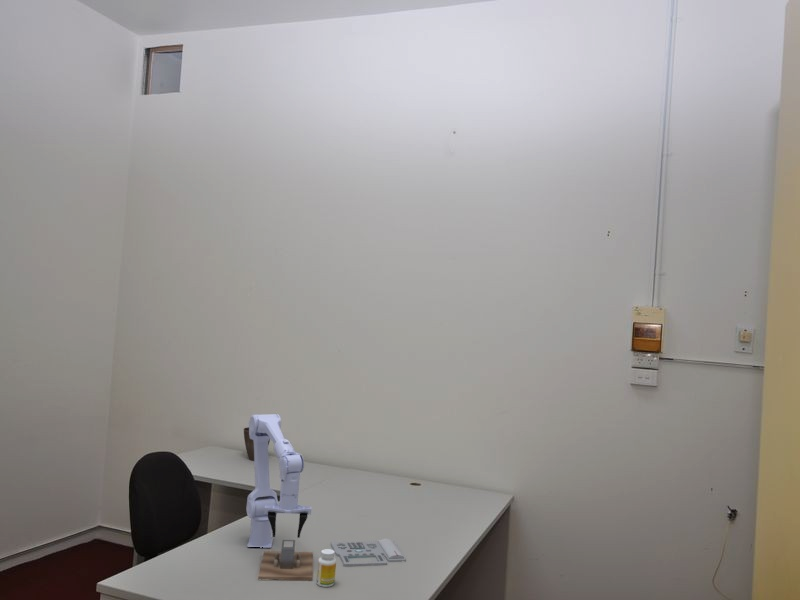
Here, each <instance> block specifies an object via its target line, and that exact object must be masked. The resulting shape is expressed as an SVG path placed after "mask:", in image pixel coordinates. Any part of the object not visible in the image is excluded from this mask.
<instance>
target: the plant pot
mask: <svg viewBox="0 0 800 600" xmlns="http://www.w3.org/2000/svg"><path fill="white" fill-rule="evenodd" d="M243 437H244V439H243V440H244V445H245V450H246V454H247V457H248V460H249V461H253V462H254V441H253V440H252V439H250V435H249V426H248V427H243ZM270 441H271V439H270V440H269V441H268V446H270Z"/></svg>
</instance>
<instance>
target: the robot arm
mask: <svg viewBox="0 0 800 600" xmlns="http://www.w3.org/2000/svg"><path fill="white" fill-rule="evenodd" d="M248 427H249V435H250V439H252V440H253V441H254V461H253V462H254V463H253V464H254V482H255V483H254V485H255V487H254V489H253V490H252V491H251V492H250V493H249V494H248V495H247V500H246V509H245V510H246V514H247V517H248V518H249V519H250V530H249V537H248V538H249V539H248V542H247V545H246V547H247V548H248V547H260V548H261V549H271V548H272V545H273V541H274V538H276V532H277V531H276V525H277V524H276V522H277V514H292V515H293V514H295V515H297V514H299V520H298V521H299V522H298V527H297V535H296V536H297V539H298V538H300V537H301V533H302V530H303V527H304V525H305V524H306V521H307V519H308V515H309V516H311V515H312V506H305V505H299V490H300V476H301V473H303V471H304V468H305V459H304V457H303V454H302V453H299V452H296V451H295V449H294V446H293V445H292V443H291V442H290V440H288V439H286V438H285V437H284V435H283V434H284V433H283V432H282V430H281V428H282V417H281V416H280V415H279V414H278V413H274V414H272V413H271V414H269V413H268V414H251V416H250V418H249V421H248ZM269 440H270V441H272V443H273V444H274V446H273V452H274V454H275V455H276V458H277V459H278V461H279V462H278V467H279V478H280V493H279V500H278V493H277V492H276V491H274V490H273V489H272V488H271V485H270V461H269V458H270V457H269V445H268V441H269ZM263 497H264V498H263ZM248 545H249V546H248ZM262 547H263V548H262ZM260 548H259V549H260Z"/></svg>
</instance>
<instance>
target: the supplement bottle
mask: <svg viewBox="0 0 800 600" xmlns="http://www.w3.org/2000/svg"><path fill="white" fill-rule="evenodd" d="M320 551H321V552H320V557H319V558H318V560H317V572H316V584H317V585H318V586H319V587H323V588H331V587H332V586H334V585H335V582H336V581H335V580H336V567H337V559H336V557H335V556H336V555H335V551H334V550H333V549H332V548H325V549H322V550H320Z"/></svg>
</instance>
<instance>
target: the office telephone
mask: <svg viewBox="0 0 800 600" xmlns="http://www.w3.org/2000/svg"><path fill="white" fill-rule="evenodd" d="M330 547H331V549H332V550H334V551H335V555H334V556H336V557H339V560H341V562H342V566H343V567H345V568H352V567H354V568H355V567H374V566H387V565H388V563H400V562H401V563H403V562H402V561H405V562H406V560H407V559H406V556H405V555H404V553H403V552H402V550H401V549H400V547H399V546H398V544H397V543H396V541H395V540H391V539H390V538H382V539H379V540H376V541H375V540H373V541H370V540H367V541H331V542H330ZM360 558H375V559H376V561H361V562H360V561H359V562H358V561H357V562H356V561H350V559H360Z"/></svg>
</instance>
